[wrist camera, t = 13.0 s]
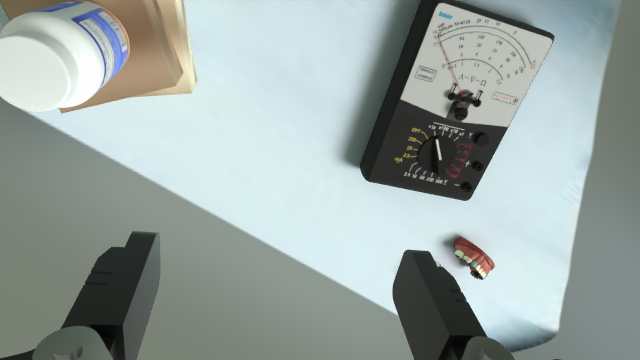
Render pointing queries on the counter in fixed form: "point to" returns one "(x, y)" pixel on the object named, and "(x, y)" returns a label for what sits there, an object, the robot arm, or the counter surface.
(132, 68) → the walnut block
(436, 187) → the multimeter
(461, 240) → the dentures
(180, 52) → the beech block
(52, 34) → the pill bottle
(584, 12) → the counter surface
